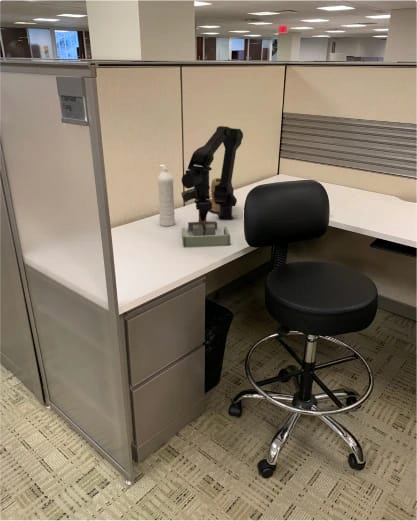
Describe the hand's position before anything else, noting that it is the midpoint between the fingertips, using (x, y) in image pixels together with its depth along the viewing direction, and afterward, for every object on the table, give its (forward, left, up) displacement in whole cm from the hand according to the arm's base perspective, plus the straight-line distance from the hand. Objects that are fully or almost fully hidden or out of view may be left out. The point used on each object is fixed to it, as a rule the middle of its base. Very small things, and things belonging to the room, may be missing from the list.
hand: (202, 219), depth 173 cm
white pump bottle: (-10, -15, -5) cm, 19 cm away
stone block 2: (+6, +3, -5) cm, 8 cm away
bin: (+13, 0, -5) cm, 14 cm away
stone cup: (-28, +10, -5) cm, 30 cm away
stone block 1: (+6, -2, -5) cm, 8 cm away
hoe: (0, 0, -4) cm, 5 cm away
